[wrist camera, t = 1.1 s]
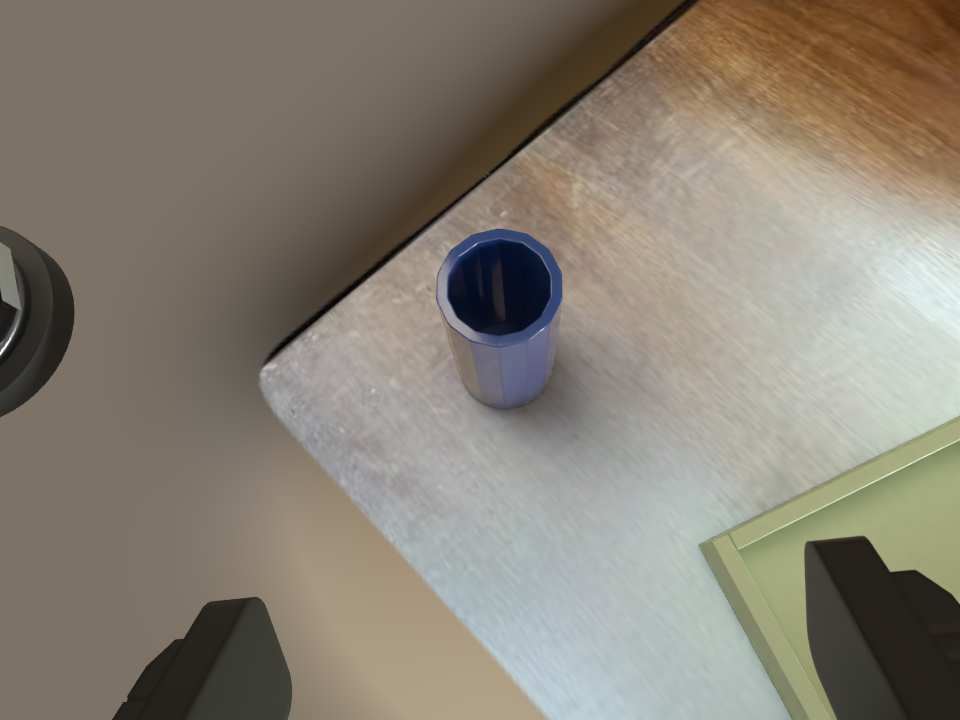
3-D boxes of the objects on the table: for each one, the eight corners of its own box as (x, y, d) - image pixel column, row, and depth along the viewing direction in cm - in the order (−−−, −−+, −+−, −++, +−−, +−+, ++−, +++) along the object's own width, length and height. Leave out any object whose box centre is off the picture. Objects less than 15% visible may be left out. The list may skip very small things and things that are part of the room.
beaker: (483, 425, 37) (468, 367, 27) (443, 342, 38) (416, 259, 29) (569, 385, 37) (584, 314, 28) (527, 303, 39) (527, 209, 29)
